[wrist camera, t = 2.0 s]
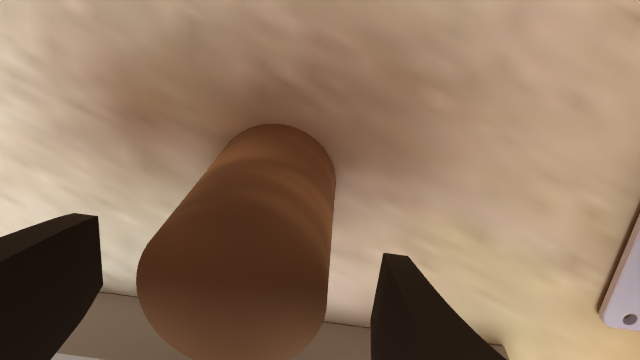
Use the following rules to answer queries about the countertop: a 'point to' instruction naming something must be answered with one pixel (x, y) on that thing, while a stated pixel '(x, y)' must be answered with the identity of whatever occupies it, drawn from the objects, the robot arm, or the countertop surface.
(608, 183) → the countertop surface
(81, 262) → the robot arm
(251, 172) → the walnut cylinder
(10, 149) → the countertop surface
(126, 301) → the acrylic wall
